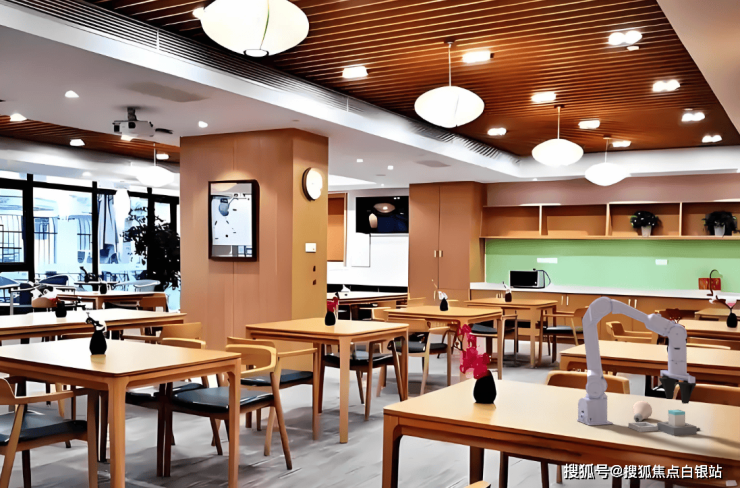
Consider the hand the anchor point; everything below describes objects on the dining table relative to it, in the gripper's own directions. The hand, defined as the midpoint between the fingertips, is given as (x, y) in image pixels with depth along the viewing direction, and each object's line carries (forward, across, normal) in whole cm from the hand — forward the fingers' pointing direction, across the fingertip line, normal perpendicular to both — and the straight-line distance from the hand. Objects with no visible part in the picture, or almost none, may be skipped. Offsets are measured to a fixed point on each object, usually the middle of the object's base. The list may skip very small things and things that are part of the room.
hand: (677, 401), depth 230 cm
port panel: (+10, -1, -1) cm, 10 cm away
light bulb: (+10, +17, +2) cm, 20 cm away
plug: (+10, -1, +1) cm, 10 cm away
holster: (+10, +5, +10) cm, 15 cm away
